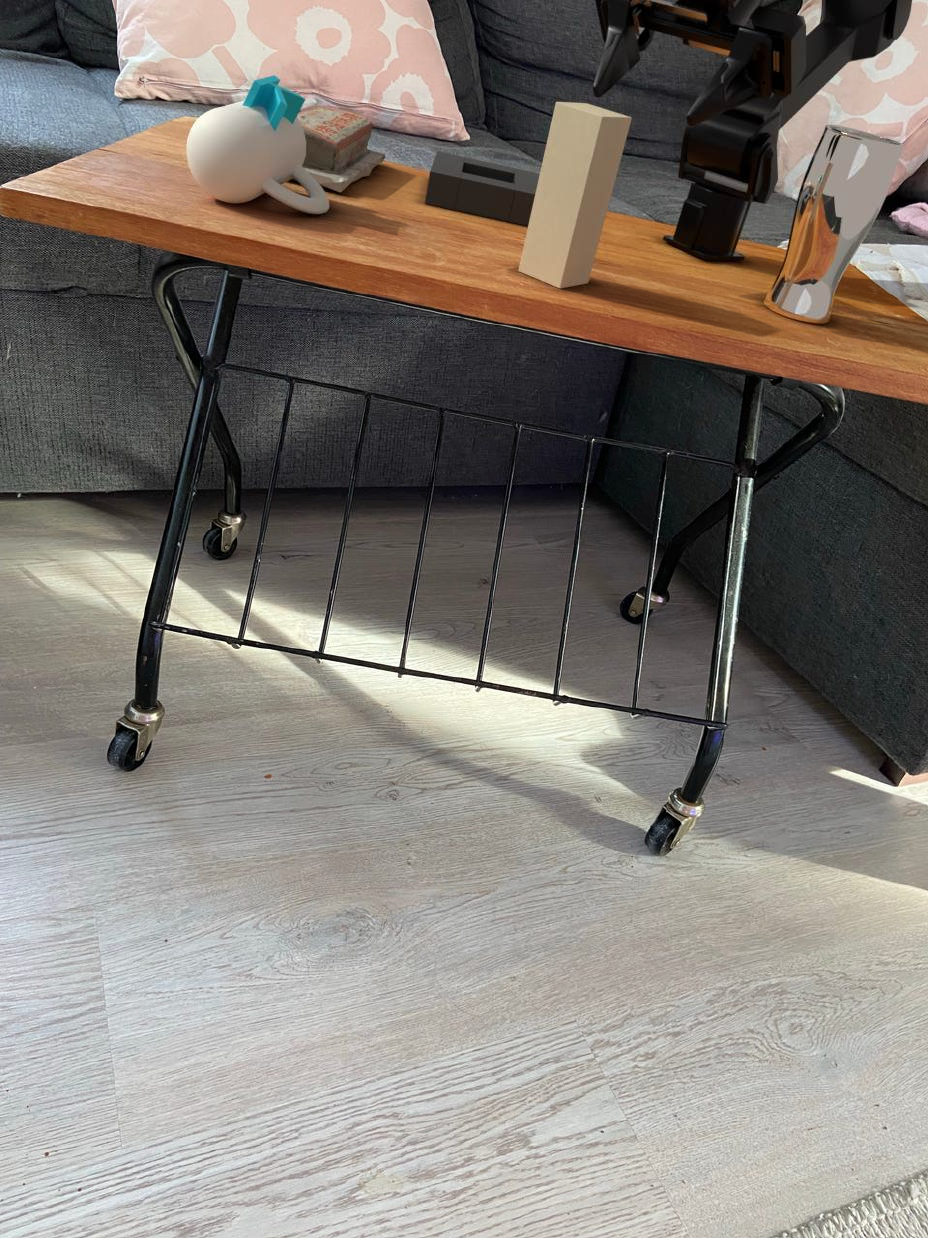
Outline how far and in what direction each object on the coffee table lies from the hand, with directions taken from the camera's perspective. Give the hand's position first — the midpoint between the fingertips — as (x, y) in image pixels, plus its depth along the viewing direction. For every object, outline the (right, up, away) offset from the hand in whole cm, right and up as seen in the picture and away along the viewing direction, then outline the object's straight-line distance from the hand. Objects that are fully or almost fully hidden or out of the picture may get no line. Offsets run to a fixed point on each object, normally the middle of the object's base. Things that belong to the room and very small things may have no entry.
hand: (640, 107), depth 81 cm
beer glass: (+16, -14, +9) cm, 23 cm away
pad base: (-13, +1, +20) cm, 24 cm away
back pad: (-7, -13, +2) cm, 15 cm away
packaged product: (-30, +3, +19) cm, 35 cm away
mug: (-32, -6, +4) cm, 33 cm away
